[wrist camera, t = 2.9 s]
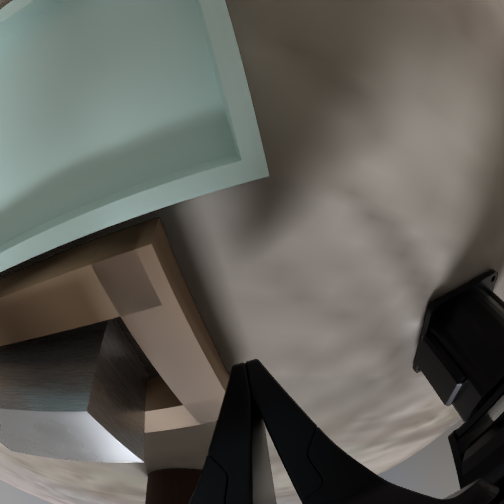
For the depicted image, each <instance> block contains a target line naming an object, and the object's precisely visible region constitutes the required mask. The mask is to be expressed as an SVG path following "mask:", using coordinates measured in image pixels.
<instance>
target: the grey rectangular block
mask: <svg viewBox="0 0 504 504" xmlns="http://www.w3.org/2000/svg"><path fill="white" fill-rule="evenodd" d="M147 374H148V371H147V370H146V368H145V367H144V365H143V364H142V362H141V360H140V359H139V357H138V355H137V354H136V352H135V350H134V349H133V347H132V345H131V344H130V342H129V340H128V339H127V337H126V335H125V333H124V332H123V330H122V328H121V326H120V324H119V322H118V321H117V319H116V318H113V319H109V320H105V321H101V322H98V323H94V324H90V325H86V326H82V327H78V328H74V329H70V330H66V331H62V332H58V333H54V334H50V335H46V336H42V337H37V338H33V339H29V340H25V341H20V342H16V343H12V344H7V345H3V346H0V442H1V443H2V444H3V445H5V446H6V447H7V448H8V449H10V450H11V451H15V452H20V453H25V454H31V455H36V456H43V457H50V458H57V459H66V460H76V461H90V462H117V463H131V462H144V431H145V405H146V388H147Z"/></svg>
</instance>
